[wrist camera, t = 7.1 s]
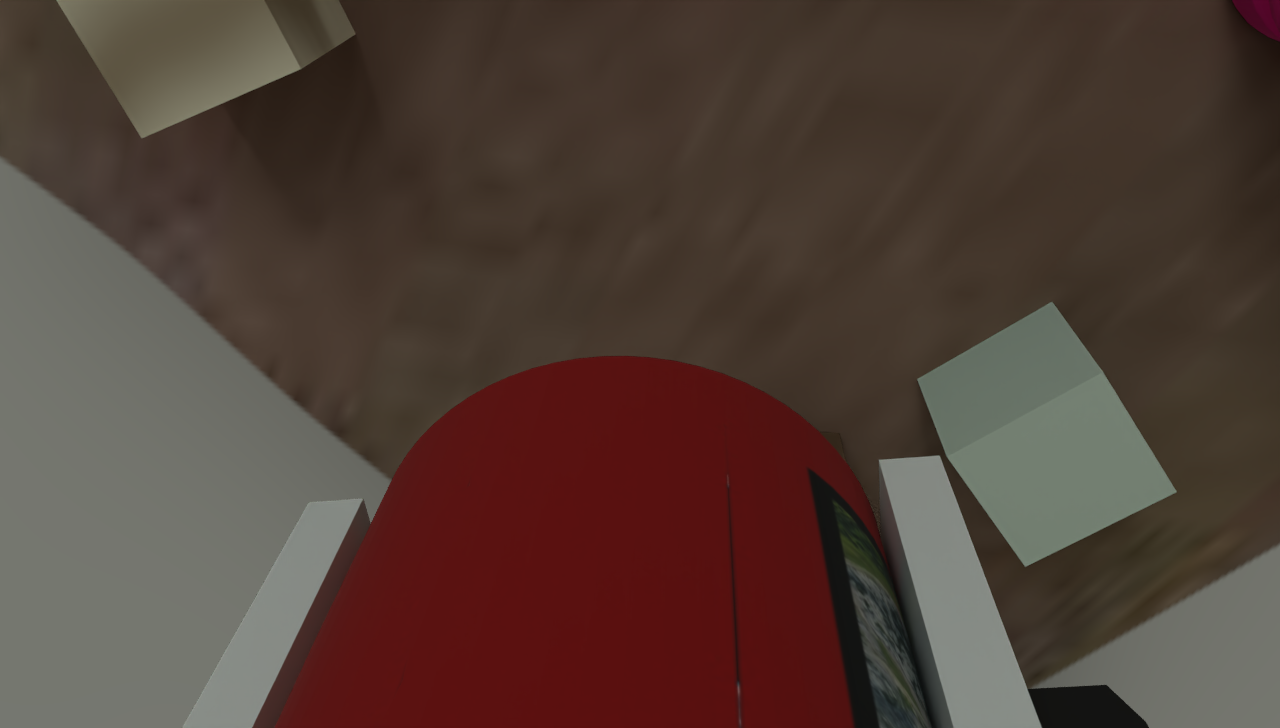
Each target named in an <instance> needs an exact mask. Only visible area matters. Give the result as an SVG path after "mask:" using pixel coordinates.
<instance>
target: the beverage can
mask: <svg viewBox="0 0 1280 728" xmlns="http://www.w3.org/2000/svg"><path fill="white" fill-rule="evenodd" d="M274 728H932V725H931V721H930V717H929V713H928V709H927V706H926V702H925V698H924V694H923V690H922V687H921V683H920V679H919V675H918V671H917V668H916V664H915V660H914V656H913V653H912V649H911V646H910V642H909V638H908V635H907V631H906V628H905V624H904V620H903V617H902V613H901V610H900V606H899V602H898V599H897V595H896V592H895V588H894V584H893V581H892V577H891V574H890V570H889V566H888V563H887V559H886V556H885V552H884V548H883V545H882V541H881V538H880V534H879V530H878V527H877V523H876V520H875V517H874V514H873V511H872V509H871V506H870V503H869V501H868V499H867V497H866V495H865V493H864V491H863V489H862V487H861V485H860V483H859V481H858V480H857V478H856V476H855V475H854V473H853V472H852V470H851V469H850V467H849V465H848V464H847V463H846V462H845V460H844V459H843V458H842V457H841V455H840V454H839V453H838V452H837V450H836V449H835V448H834V447H833V446H832V445H831V444H830V443H829V442H828V441H827V440H826V438H825V437H824V436H823V435H822V434H821V433H820V432H819V431H818V430H817V429H815V428H814V427H813V426H812V425H811V424H810V423H808V422H807V421H806V420H805V419H804V418H803V417H801V416H800V415H799V414H797V413H796V412H795V411H793V410H792V409H790V408H789V407H788V406H786V405H785V404H783V403H782V402H780V401H778V400H777V399H775V398H773V397H772V396H770V395H768V394H767V393H765V392H763V391H761V390H759V389H757V388H755V387H753V386H751V385H749V384H747V383H745V382H743V381H740V380H738V379H735V378H732V377H730V376H727V375H725V374H722V373H719V372H716V371H713V370H709V369H706V368H703V367H700V366H696V365H691V364H687V363H682V362H677V361H672V360H665V359H658V358H651V357H635V356H600V357H589V358H579V359H573V360H567V361H561V362H556V363H551V364H547V365H544V366H540V367H536V368H532V369H529V370H526V371H523V372H521V373H518V374H515V375H512V376H509V377H507V378H505V379H503V380H500V381H498V382H496V383H494V384H492V385H489V386H488V387H486V388H484V389H482V390H480V391H479V392H477V393H475V394H473V395H472V396H470V397H468V398H467V399H465V400H464V401H463V402H461V403H460V404H458V405H457V406H455V407H454V408H452V409H451V410H450V411H449V412H447V413H446V414H445V415H444V416H443V417H441V418H440V419H439V420H438V421H437V422H435V423H434V424H433V425H432V426H431V427H430V428H429V429H428V430H427V431H426V432H425V433H424V434H423V435H422V436H421V437H420V439H419V440H418V441H417V442H416V444H415V445H414V446H413V447H412V449H411V450H410V451H409V452H408V454H407V455H406V457H405V458H404V460H403V461H402V463H401V464H400V466H399V468H398V469H397V471H396V473H395V475H394V477H393V479H392V481H391V483H390V485H389V487H388V490H387V491H386V493H385V495H384V498H383V500H382V502H381V504H380V506H379V508H378V510H377V512H376V514H375V516H374V518H373V521H372V522H371V524H370V526H369V529H368V531H367V533H366V535H365V537H364V539H363V541H362V543H361V545H360V547H359V549H358V551H357V553H356V556H355V558H354V560H353V562H352V564H351V566H350V568H349V570H348V572H347V574H346V576H345V578H344V580H343V583H342V585H341V587H340V589H339V591H338V593H337V595H336V597H335V599H334V601H333V603H332V605H331V607H330V610H329V612H328V614H327V616H326V618H325V620H324V622H323V624H322V626H321V628H320V630H319V632H318V635H317V637H316V639H315V641H314V643H313V645H312V647H311V649H310V652H309V654H308V656H307V658H306V660H305V662H304V665H303V667H302V669H301V671H300V673H299V675H298V678H297V680H296V682H295V684H294V686H293V688H292V691H291V693H290V695H289V697H288V699H287V701H286V704H285V706H284V708H283V710H282V712H281V714H280V717H279V719H278V721H277V723H276V725H275V727H274Z"/></svg>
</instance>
